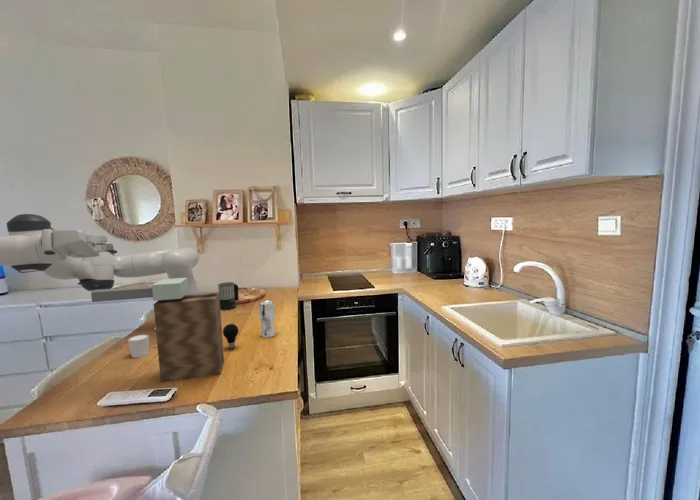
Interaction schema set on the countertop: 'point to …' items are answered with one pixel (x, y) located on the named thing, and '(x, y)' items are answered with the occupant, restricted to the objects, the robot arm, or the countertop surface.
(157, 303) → the walnut stand
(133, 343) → the white short cylinder
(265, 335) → the beer glass
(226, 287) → the milk frother
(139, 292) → the grey mallet
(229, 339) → the light bulb
